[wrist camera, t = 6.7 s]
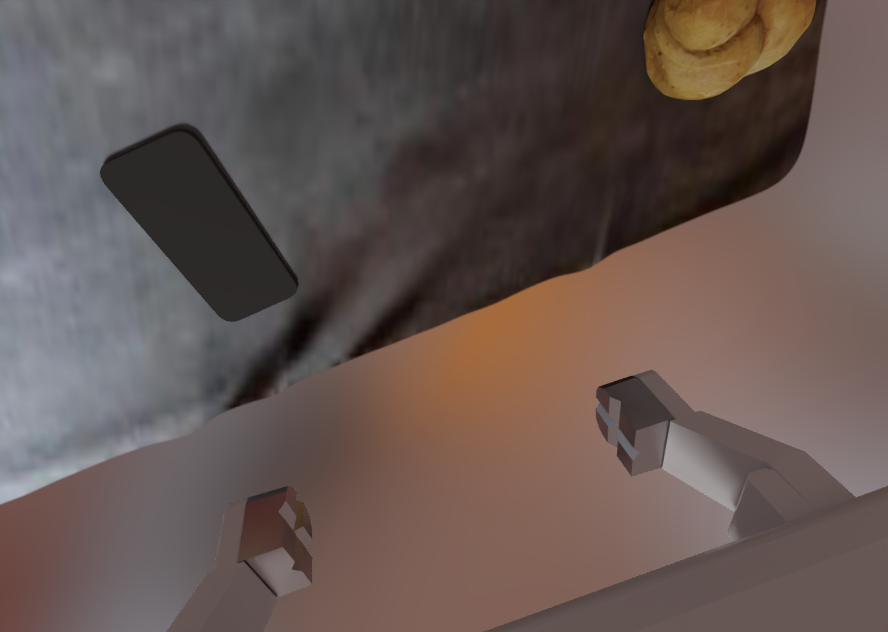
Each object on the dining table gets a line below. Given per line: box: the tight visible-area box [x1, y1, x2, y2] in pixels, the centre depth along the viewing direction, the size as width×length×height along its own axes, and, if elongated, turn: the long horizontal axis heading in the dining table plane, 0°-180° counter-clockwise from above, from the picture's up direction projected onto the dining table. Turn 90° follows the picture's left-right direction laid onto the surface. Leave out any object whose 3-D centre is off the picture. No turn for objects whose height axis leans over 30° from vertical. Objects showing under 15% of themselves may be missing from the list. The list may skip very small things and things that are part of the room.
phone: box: [100, 129, 297, 322], centre depth 36 cm, size 7×1×15 cm
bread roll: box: [644, 0, 816, 100], centre depth 33 cm, size 13×10×8 cm
